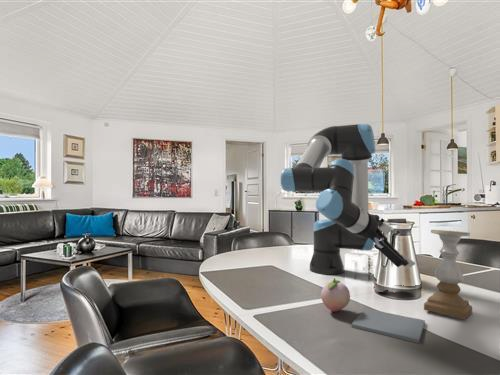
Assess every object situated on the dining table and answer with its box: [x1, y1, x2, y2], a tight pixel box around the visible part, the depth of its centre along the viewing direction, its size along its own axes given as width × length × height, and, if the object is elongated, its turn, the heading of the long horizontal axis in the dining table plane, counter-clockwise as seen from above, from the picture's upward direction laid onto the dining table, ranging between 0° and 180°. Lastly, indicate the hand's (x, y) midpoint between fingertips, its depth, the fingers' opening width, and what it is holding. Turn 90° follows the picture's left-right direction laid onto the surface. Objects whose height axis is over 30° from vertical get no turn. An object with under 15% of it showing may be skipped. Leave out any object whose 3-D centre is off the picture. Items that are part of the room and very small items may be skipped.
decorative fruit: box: [320, 278, 351, 313], centre depth 97 cm, size 9×8×10 cm
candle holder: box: [423, 229, 473, 320], centre depth 98 cm, size 11×11×24 cm
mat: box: [351, 308, 426, 344], centre depth 88 cm, size 16×14×1 cm
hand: (401, 248), depth 106 cm, fingers open, 13 cm apart
